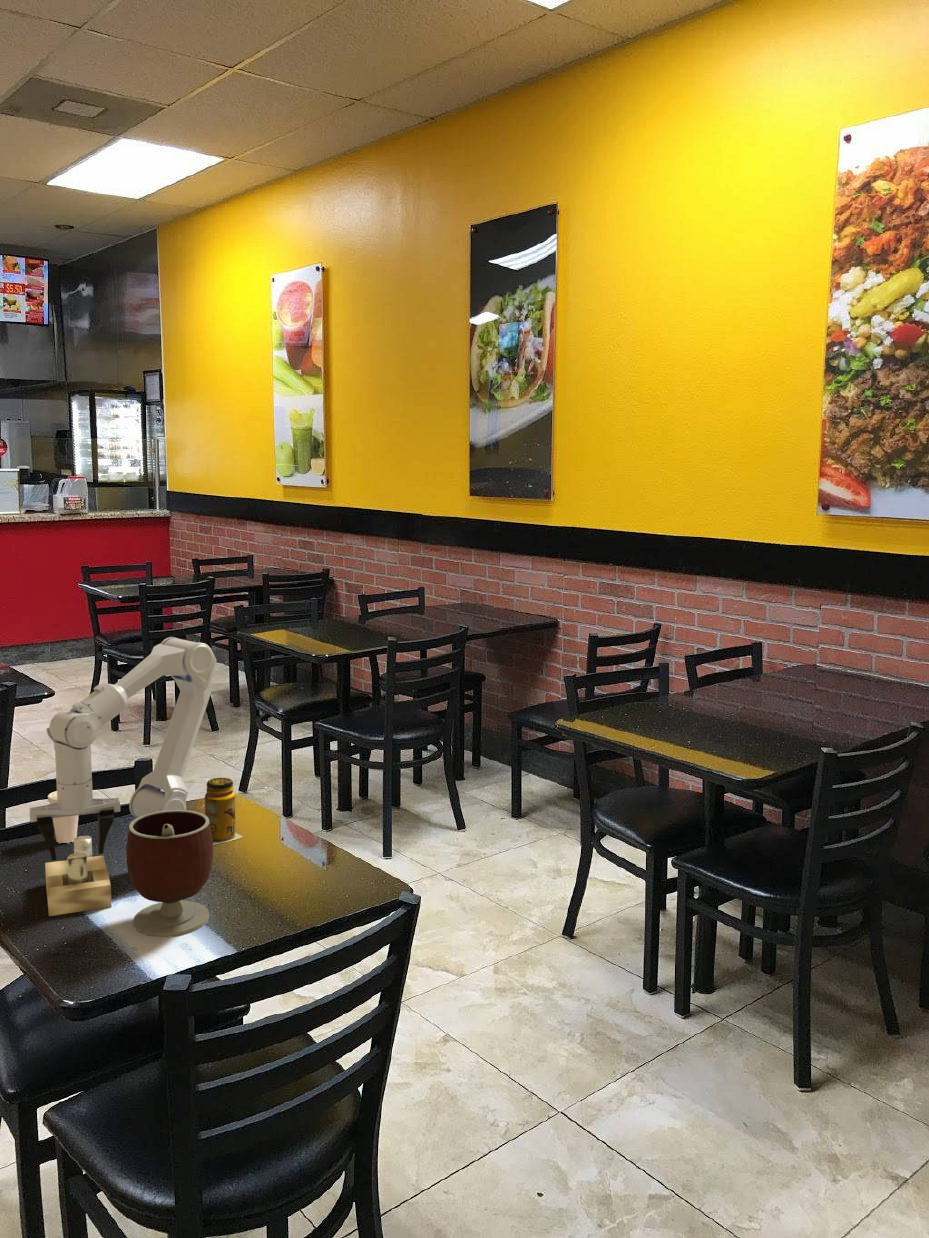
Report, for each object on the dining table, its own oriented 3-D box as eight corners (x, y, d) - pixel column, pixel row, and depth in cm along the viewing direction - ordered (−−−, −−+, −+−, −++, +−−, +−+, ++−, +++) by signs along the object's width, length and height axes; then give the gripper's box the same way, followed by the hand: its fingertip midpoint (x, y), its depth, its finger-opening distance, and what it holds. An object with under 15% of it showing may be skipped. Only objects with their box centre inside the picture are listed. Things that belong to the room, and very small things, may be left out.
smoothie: (60, 848, 198) (58, 780, 196) (42, 840, 202) (40, 773, 199) (89, 839, 203) (87, 773, 201) (72, 831, 207) (69, 766, 204)
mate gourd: (132, 905, 174) (129, 794, 171) (214, 899, 177) (213, 790, 174) (123, 947, 159) (119, 827, 156) (213, 940, 162) (211, 822, 159)
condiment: (243, 837, 206) (243, 781, 204) (207, 847, 200) (206, 790, 198) (225, 827, 211) (224, 773, 209) (188, 837, 205) (187, 781, 204)
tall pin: (91, 896, 177) (90, 853, 176) (83, 904, 174) (81, 860, 173) (74, 895, 177) (72, 852, 176) (65, 903, 174) (63, 859, 173)
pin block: (104, 875, 186) (103, 855, 185) (111, 906, 173) (110, 884, 172) (46, 883, 181) (45, 862, 181) (48, 916, 169) (47, 893, 168)
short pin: (95, 855, 195) (94, 836, 194) (87, 862, 192) (87, 842, 191) (79, 854, 195) (78, 835, 194) (71, 861, 192) (70, 841, 191)
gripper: (116, 768, 179) (118, 841, 181) (27, 777, 173) (31, 852, 175) (120, 780, 172) (122, 855, 174) (28, 790, 166) (32, 867, 169)
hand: (77, 854), depth 174 cm, fingers open, 7 cm apart
